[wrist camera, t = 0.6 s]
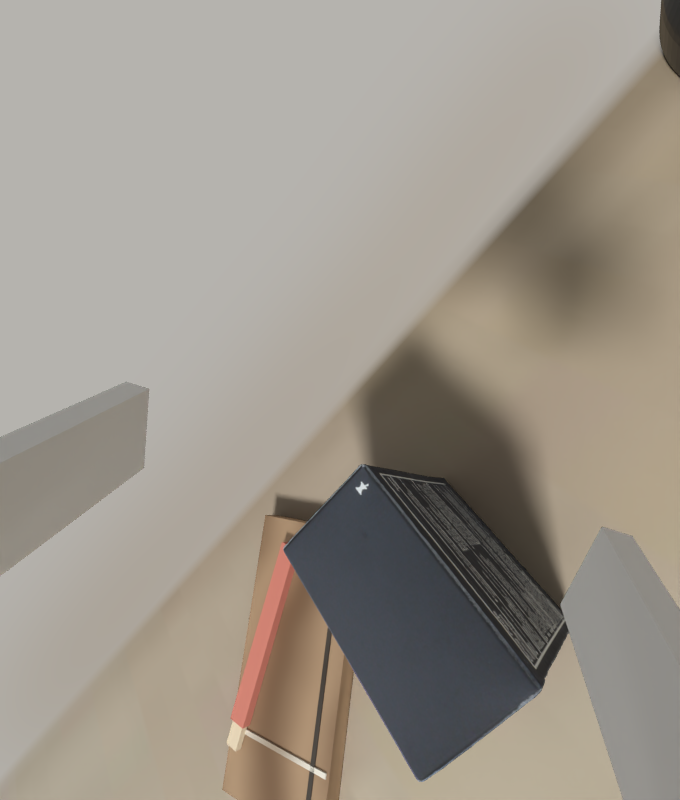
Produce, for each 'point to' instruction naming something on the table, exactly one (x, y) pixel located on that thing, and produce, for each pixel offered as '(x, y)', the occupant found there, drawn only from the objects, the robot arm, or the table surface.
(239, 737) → the carpenter pencil
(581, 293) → the table surface
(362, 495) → the small box
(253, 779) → the wooden board
